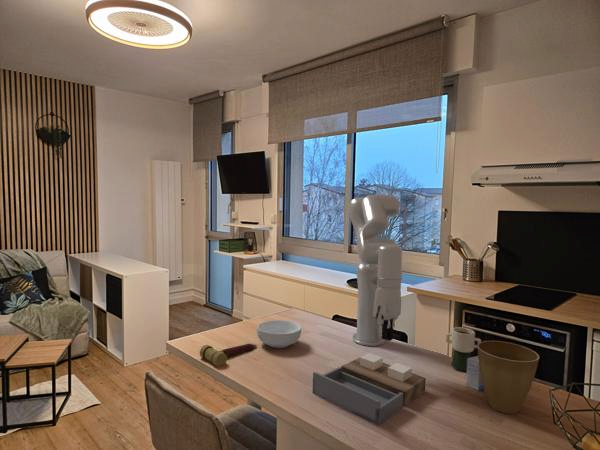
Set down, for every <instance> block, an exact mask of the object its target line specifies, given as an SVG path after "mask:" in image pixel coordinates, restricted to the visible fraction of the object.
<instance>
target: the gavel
mask: <svg viewBox="0 0 600 450" xmlns="http://www.w3.org/2000/svg"><path fill="white" fill-rule="evenodd" d="M256 347H258V346H257V344H256V343H255V344H254V343H246V344H241V345H236V346H232V347H229V348H224V349H221V350H217V349H215V348H214V347H213V346H211V345H209V344H205V345H203V346H202V347H200V349H199V356H200V358H202V359H204V360H207V361H209V362H211V363H212V364H213V365H214V366H216V367H222V366H225V364H226V363H227V361H228V357H229V356H235V355H238V354H241V353H245V352H246V353H247V352H248V351H252V350H254V349H255V348H256Z"/></svg>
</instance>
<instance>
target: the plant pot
mask: <svg viewBox="0 0 600 450" xmlns="http://www.w3.org/2000/svg"><path fill="white" fill-rule="evenodd" d="M476 345H477V348H476V349H477V356H478V360H479V368H480V374H481V379H482V383H483V387H484V390H483V391H484V394H485V398H486V400H487V403H488V405H489V407H490V408H491V409H493V410H494V411H496V412H497V411H498V412H499V413H502V414H507V413H508V415H514V414H517V413H519V411H520V410H521V408H522V406H523V404H524V403H525V401H526V398H527V396H528V394H529V392H530V390H531V388H532V386H533V385H532V384H533V382H534V379H535V376H536V373H537V368H538V364H539V360H540V355H539V354H538V353H537V352H536V351H534V350H532V349H531V348H528V347H526V346H523V345H520V344H516V343H512V342H508V341H500V340H484V341H481V342H480V343H478V342H477V344H476Z"/></svg>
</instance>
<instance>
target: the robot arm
mask: <svg viewBox="0 0 600 450" xmlns="http://www.w3.org/2000/svg"><path fill="white" fill-rule="evenodd" d="M348 208H349V211H348V212H349V218H350V221H351V224H352V226H353V228H354V230H355V235H356V247H357V254H358V258H359V261H360V262H361V263H359V264H358V265H357V266H356V272H355V273H356V280H357V281H356V283H357V312H356V313H357V316H356V333H354V334H352V340H353V342H354V343H356V344H358V345H361V346H366V347H377V346H378V347H379V346H382V345H383V344H385V342H386V341H390V342H391V341H392V340H393V339H394V327H395V321H396V320H397V319H398V318H399V316H400V315H401V313H402V292H401V288H402V279H403V271H402V267H403V266H402V265H403V264H402V260H403V250H402V247H401V246H399V245H398V244H397V242H396V241H395V240H394V239H391V238H385V237H378V236H379V235H381V234H383V233H385V232H386V231H387V229H388V228H389V225H390V224H389V218H394V217H397V215H398V214H399V213H400V209H401V208H400V202H399V200H398V198H397V196H396V195H393V194H369V195H366V196H359V197H355V198H352V199H351V200H350V201H349V205H348Z"/></svg>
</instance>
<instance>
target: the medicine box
mask: <svg viewBox="0 0 600 450" xmlns="http://www.w3.org/2000/svg"><path fill="white" fill-rule="evenodd" d="M465 379H466V381H465V385H466V386H467V387H469V388H471V389H473V390H475V391H477V392H480V390H481V391H484V387H483V383H482V379H481V374H480V368H479V360H478V355H475V356H471V358H468V359H467V370H466V377H465Z"/></svg>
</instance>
